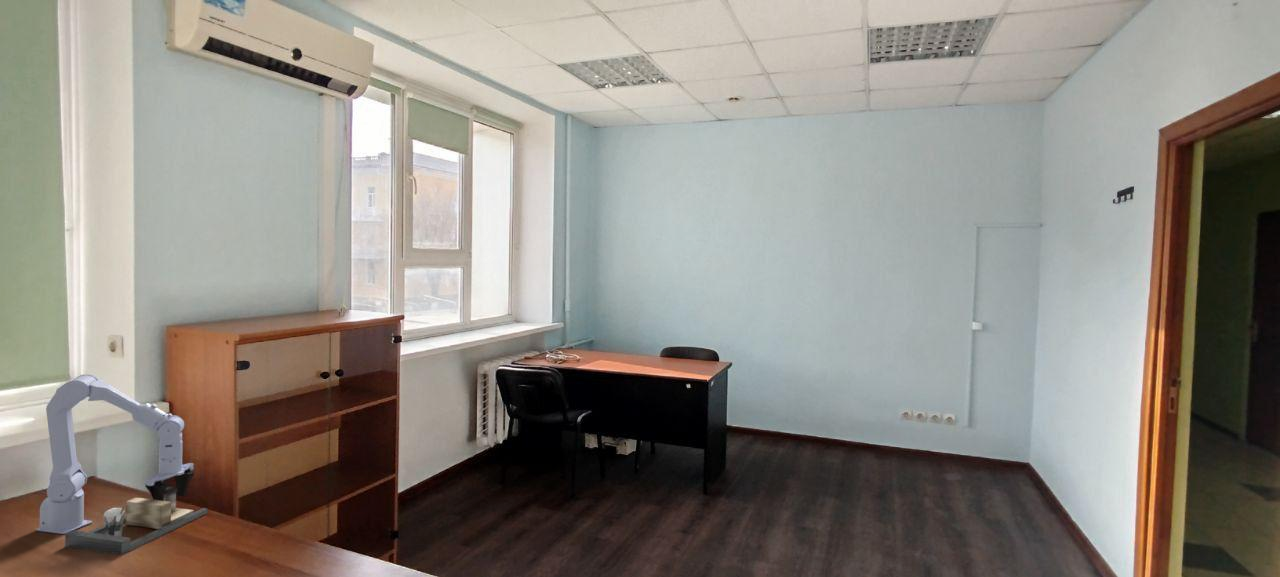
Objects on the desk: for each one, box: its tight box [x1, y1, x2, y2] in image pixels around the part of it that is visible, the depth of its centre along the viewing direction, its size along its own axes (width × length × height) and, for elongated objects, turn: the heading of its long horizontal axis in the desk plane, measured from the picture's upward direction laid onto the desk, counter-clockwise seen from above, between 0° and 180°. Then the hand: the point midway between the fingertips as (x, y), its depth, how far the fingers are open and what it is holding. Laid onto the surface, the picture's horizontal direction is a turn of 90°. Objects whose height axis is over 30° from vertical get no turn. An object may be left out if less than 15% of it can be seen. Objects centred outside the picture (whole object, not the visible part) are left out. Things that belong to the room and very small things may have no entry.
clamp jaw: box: [125, 486, 195, 530], centre depth 185 cm, size 12×11×8 cm
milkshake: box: [103, 506, 126, 537], centre depth 171 cm, size 4×5×10 cm
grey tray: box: [64, 507, 208, 556], centre depth 179 cm, size 18×28×4 cm, turn 172°
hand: (170, 500), depth 188 cm, fingers open, 7 cm apart
